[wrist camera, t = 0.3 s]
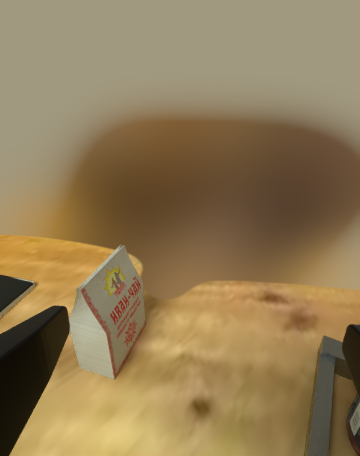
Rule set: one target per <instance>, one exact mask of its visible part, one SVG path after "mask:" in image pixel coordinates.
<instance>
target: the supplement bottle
mask: <svg viewBox="0 0 360 456" xmlns="http://www.w3.org/2000/svg"><path fill="white" fill-rule="evenodd" d="M347 430H348V434H349V438H350V440H351V443H352V445H353V447H354V449H355V451H356V453H357V454H358V455H359V456H360V398H359V395H358V394H357V396H356V398H355V400H354V402H353V404H352V406H351V408H350V411H349V414H348V417H347Z"/></svg>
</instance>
